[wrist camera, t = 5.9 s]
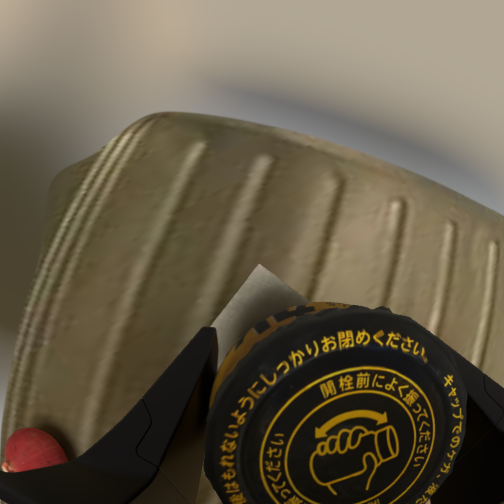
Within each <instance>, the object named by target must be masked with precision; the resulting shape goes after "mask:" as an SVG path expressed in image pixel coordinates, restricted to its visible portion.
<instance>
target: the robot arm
mask: <svg viewBox="0 0 504 504" xmlns="http://www.w3.org/2000/svg"><path fill="white" fill-rule="evenodd" d="M413 321H414V320H413ZM414 322H416V321H414ZM416 323H417V322H416ZM426 330H427V329H426ZM431 334H432V333H431ZM445 345H446V346H447V347H448V349H449V350H450V352H451V354H452V356H453V358H454V360H455V363H456V365H457V368H458V370H459V373H460V375H461V377H462V380H463V383H464V386H465V388H466V391H467V402H466V412H467V414H466V426H465V436H464V439H463V443H462V446H461V448H460V451H459V453H458V455H457V457H456V459H455V462H454V465H453V471H452V473H451V474H450V475H449V476H448V477H447V478H446V479H445V480H444V481H443V483H442V484H441V486H440V487H439V489H438V490H437V492H436V493H434V494H433V495H432V496H431V497H430V503H431V504H504V388H503V387H502V386H500V385H499V384H498V383H496V382H495V381H494V380H492V379H491V378H490V377H488V376H487V375H486V374H483V372H482V371H481V370H479V369H478V368H477V367H476V366H474V365H473V364H472V363H470V362H469V361H468V360H466V359H465V358H464V357H463V356H461V355H460V354H459V353H457V352H456V351H455V350H453V349H452V348H451V347H449V346H448V345H447V344H445ZM218 352H219V347H218V338H217V330H216V328H215V327H202V328H201V329H200V331H199V332H198V333H197V334H196V335H195V336H194V338H193V339H192V340H191V341H190V342H189V343H188V345H187V346H186V347H185V348H184V349H183V350H182V352H181V353H180V354H179V355H178V356H177V357H176V359H175V360H174V361H173V362H172V363H171V364H170V366H169V367H168V368H167V369H166V370H165V371H164V373H163V374H162V375H161V376H160V377H159V378H158V380H157V381H156V382H155V383H154V384H153V385H152V387H151V388H150V389H149V390H148V391H147V392H146V394H145V395H144V396H143V397H142V398H143V399H140V400H139V401H138V403H137V404H136V405H135V406H134V407H133V408H132V409H131V410H130V411H129V413H128V414H127V415H126V416H125V417H124V418H123V419H122V420H121V421H120V422H119V423H118V424H117V425H115V426H114V427H113V428H112V429H111V430H110V431H109V432H108V433H107V434H105V435H104V436H103V437H102V438H101V439H100V440H99V441H98V442H96V443H95V444H94V445H93V446H92V447H91V448H89V449H88V450H87V451H86V452H85V453H83V454H82V455H80V456H79V457H77V458H75V459H73V460H71V461H69V462H65V463H61V464H56V465H52V466H47V467H42V468H37V469H32V470H27V471H21V472H4V471H1V470H0V499H1V500H3V501H4V502H6V503H8V504H195V502H196V497H197V491H198V486H199V480H200V475H201V470H202V464H203V459H204V454H205V447H204V444H205V437H206V431H205V430H206V425H207V421H206V418H207V415H208V412H209V398H210V393H211V390H212V387H213V383H214V379H215V377H216V374H217V369H218Z"/></svg>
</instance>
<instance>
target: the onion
mask: <svg viewBox="0 0 504 504" xmlns="http://www.w3.org/2000/svg"><path fill="white" fill-rule="evenodd" d="M5 459H6V462H3V464H2V469H3V471H4V472H21V471H27V470H32V469H37V468H42V467H47V466H52V465H56V464H61V463H65V462H68V459H67V457H66V454H65V452H64V450H63V449H62V447H61V446H60V445H59V443H58V442H57V441H56V440H55V439H54V438H53V437H52V436H51V435H50V434H48V433H46V432H44V431H42V430H39V429H37V428H21V429H19V430H17V431H16V432H14V433H13V434H12V435H11V436H10V438H9V439H8V441H7V444H6V448H5Z"/></svg>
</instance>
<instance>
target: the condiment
mask: <svg viewBox="0 0 504 504" xmlns="http://www.w3.org/2000/svg"><path fill="white" fill-rule="evenodd" d="M210 327H215V328H216V330H217V338H218V347H219V352H218V369H217V374H216V377H215V379H214V383H213V387H212V390H211V393H210V398H209V412H208V415H207V418H206V421H207V425H206V430H205V431H206V437H205V444H204V447H205V458H204V470H205V474H206V477H207V478H208V479H209V481H210V482H211V484H212V486H213V489H214V490H215V491H216V493H217V495H218V496H219V498H220V499H221V501H222V502H223V504H425V503H426V502H427V501H428V500H429V499H430V497H431V496H432V495H433V494H434V493H436V492H437V490H438V489H439V487H440V486H441V484H442V483H443V481H444V480H445V479H446V478H447V477H448V476H449V475H450V474H451V473H452V471H453V465H454V462H455V459H456V457H457V455H458V453H459V451H460V448H461V446H462V443H463V439H464V436H465V426H466V414H467V412H466V402H467V391H466V388H465V386H464V383H463V380H462V377H461V375H460V373H459V370H458V368H457V365H456V363H455V360H454V358H453V356H452V354H451V352H450V350H449V349H448V347H447V346H446V345H445V343H444V342H443V341H442V340H440V339H439V338H438V337H436V336H435V335H433V334H431V332H430V331H428V330H426V328H424V327H423V326H421V325H420V324H418V323H416V322H414V321H413V320H412V319H411V318H410V317H407V316H402V315H397V314H393V313H392V312H391V310H390V309H389V308H386V307H383V306H381V307H378V308H376V309H373V310H371V309H369V308H367V307H363V306H358V305H349V304H342V303H332V302H312V303H311V302H310V301H309V300H307V299H306V298H304V297H303V296H302V295H300V294H299V293H298V292H297V291H295V290H294V289H292V288H291V287H289V286H288V285H287V284H285V283H284V282H283V281H281V280H280V279H279V278H278V277H276V276H275V275H274V274H272V273H271V272H270V271H268V270H267V269H266V268H264V267H263V266H261V265H260V264H258V266H257V267H256V268H255V270H254V271H253V272H252V273H251V275H250V276H249V278H248V279H247V280H246V282H245V283H244V284H243V285H242V287H241V288H240V289H239V290H238V292H237V293H236V294H235V296H234V297H233V298H232V299H231V301H230V302H229V303H228V305H227V306H226V307H225V308H224V310H223V311H222V312H221V313H220V315H219V316H218V317H217V318H216V320H215V321H214V322H213V324H212V325H211V326H210Z"/></svg>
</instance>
